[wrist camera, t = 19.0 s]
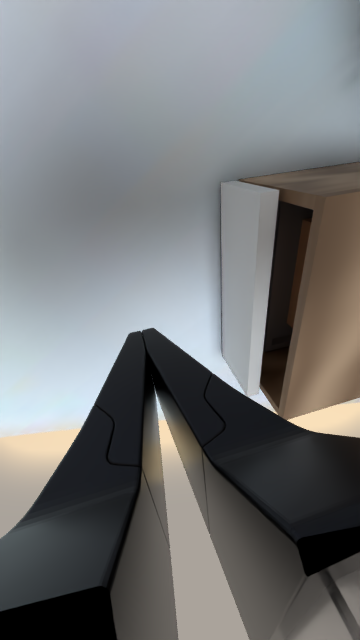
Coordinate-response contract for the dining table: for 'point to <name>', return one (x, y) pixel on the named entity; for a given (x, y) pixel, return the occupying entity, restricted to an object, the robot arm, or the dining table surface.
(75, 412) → the dining table surface
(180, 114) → the dining table surface
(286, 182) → the box
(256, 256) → the tray
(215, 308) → the dining table surface
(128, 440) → the robot arm
